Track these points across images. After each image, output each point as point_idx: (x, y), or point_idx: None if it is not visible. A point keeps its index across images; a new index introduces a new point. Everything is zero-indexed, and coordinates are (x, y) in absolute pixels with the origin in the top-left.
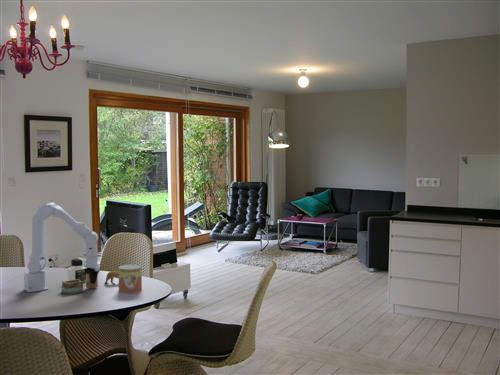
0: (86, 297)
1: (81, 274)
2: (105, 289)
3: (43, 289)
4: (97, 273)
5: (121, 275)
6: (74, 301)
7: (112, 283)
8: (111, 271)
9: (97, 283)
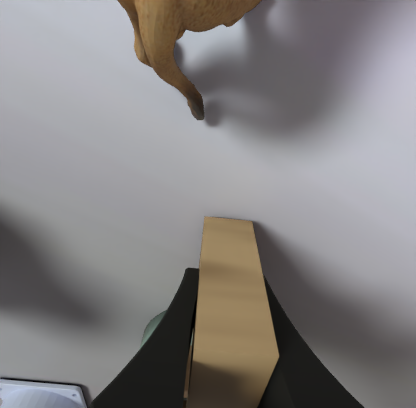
0: (392, 354)
1: None
2: (356, 195)
3: (83, 401)
4: (339, 391)
5: None
6: (389, 399)
7: (251, 7)
8: None
9: (256, 244)
